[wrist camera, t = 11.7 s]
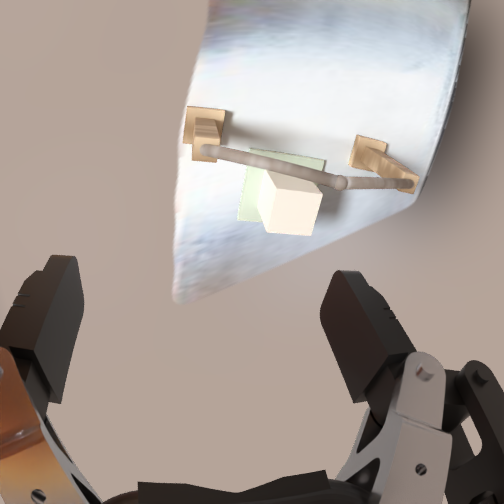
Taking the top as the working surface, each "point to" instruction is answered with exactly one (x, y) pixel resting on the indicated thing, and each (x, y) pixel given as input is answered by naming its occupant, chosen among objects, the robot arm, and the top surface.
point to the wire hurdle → (362, 157)
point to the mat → (255, 177)
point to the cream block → (288, 204)
